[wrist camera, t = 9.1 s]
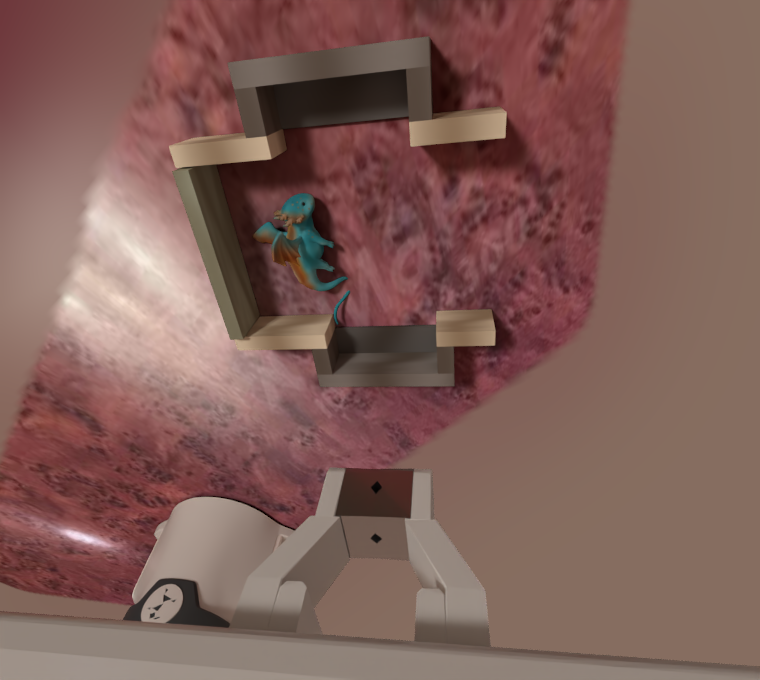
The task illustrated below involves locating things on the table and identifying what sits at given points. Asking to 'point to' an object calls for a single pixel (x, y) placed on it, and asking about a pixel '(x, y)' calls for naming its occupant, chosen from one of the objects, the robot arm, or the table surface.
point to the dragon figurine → (300, 244)
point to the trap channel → (266, 140)
